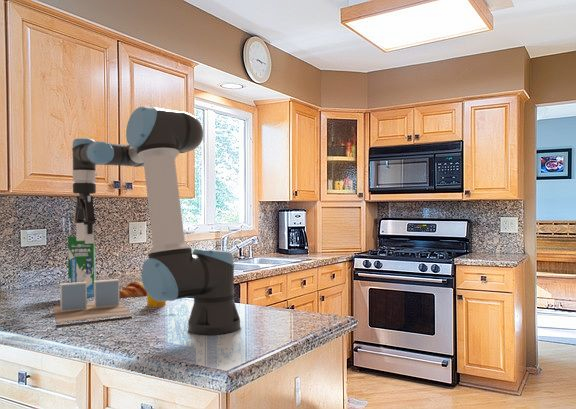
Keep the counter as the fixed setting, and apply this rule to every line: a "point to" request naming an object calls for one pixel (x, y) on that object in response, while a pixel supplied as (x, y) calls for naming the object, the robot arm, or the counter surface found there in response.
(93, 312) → the board
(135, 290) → the croissant
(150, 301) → the beer can
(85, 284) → the tile
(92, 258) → the milk carton
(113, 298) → the tile
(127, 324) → the counter surface
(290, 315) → the counter surface
